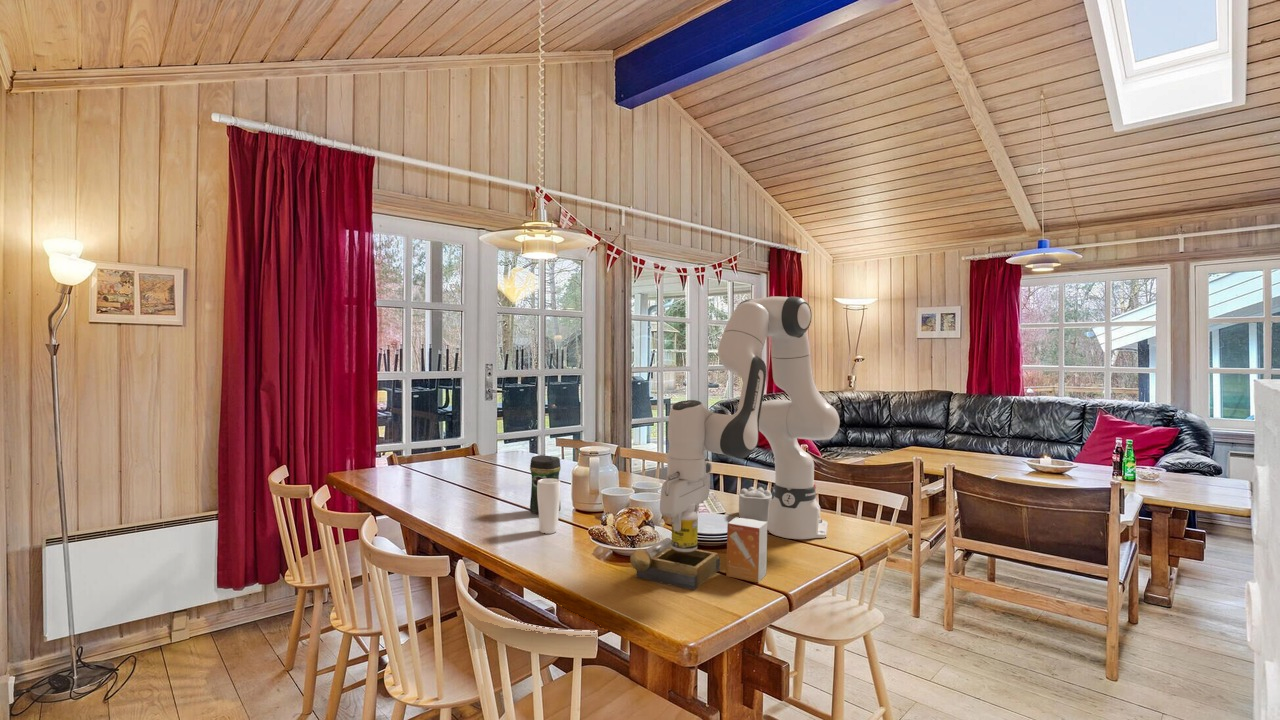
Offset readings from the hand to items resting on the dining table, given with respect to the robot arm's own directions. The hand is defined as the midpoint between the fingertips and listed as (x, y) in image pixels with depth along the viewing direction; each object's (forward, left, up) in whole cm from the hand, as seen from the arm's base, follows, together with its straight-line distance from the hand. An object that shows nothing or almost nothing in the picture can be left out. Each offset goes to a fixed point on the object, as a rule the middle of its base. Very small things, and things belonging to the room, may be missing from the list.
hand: (685, 526), depth 148 cm
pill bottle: (0, 0, -6) cm, 6 cm away
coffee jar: (-26, -63, -12) cm, 69 cm away
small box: (-7, +13, -12) cm, 19 cm away
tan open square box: (+1, -2, -12) cm, 12 cm away
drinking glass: (-10, -49, -12) cm, 51 cm away
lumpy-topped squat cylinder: (-59, -3, -12) cm, 60 cm away
